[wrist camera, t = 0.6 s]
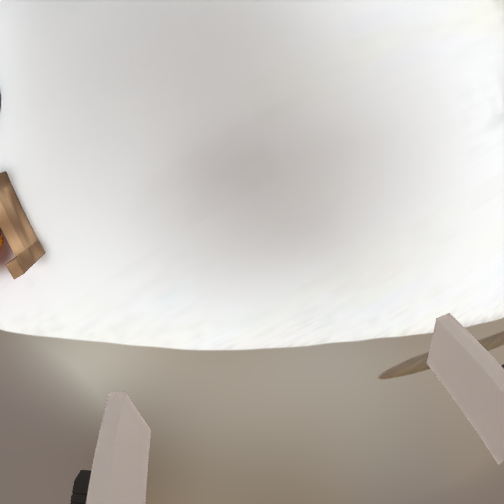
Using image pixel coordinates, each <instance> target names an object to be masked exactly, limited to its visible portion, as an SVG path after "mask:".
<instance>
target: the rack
mask: <svg viewBox="0 0 504 504" xmlns="http://www.w3.org/2000/svg"><path fill="white" fill-rule="evenodd" d="M0 228H1V230H2V232H3V234H4V236H5V237H6V239H7V241H8V243H9V245H10V247H11V249H12V251H13V253H14V254H15V256H16V257H14V258H13V259H12V260H11V261H10V262H9V263H8V264H6V266H7V268H8V270H9V272H10V273H11V275H12V277H13V278H14V279H16V278H18V277H19V276H21V275H23V274H24V273H25V272H26V271H27V270H28V269H29V268H30V267H31V266H32V265H33V264H34V263H35V262H36V261H37V260H38V259H39V258H40V257H42V256H43V255H44V254H45V252H44V250H43V248H42V246H41V244H40V242H39V241H38V239H37V237H36V235H35V233H34V231H33V229H32V227H31V225H30V223H29V221H28V219H27V217H26V215H25V213H24V211H23V209H22V207H21V205H20V203H19V201H18V198H17V196H16V194H15V192H14V190H13V187H12V185H11V183H10V180H9V178H8V176H7V173H6V172H3V173H0Z"/></svg>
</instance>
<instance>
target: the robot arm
mask: <svg viewBox="0 0 504 504" xmlns="http://www.w3.org/2000/svg"><path fill="white" fill-rule="evenodd" d="M427 365H428V366H429V367H430V368H431V370H432V371H433V372H434V374H435V375H436V376H437V378H438V379H439V380H440V382H441V383H442V384H443V385H444V387H445V388H446V390H447V391H448V392H449V394H450V395H451V396H452V398H453V399H454V401H455V402H456V403H457V405H458V406H459V407H460V409H461V410H462V411H463V413H464V414H465V416H466V417H467V419H468V420H469V422H470V423H471V424H472V426H473V427H474V429H475V430H476V432H477V433H478V435H479V436H480V438H481V439H482V441H483V442H484V444H485V445H486V446H487V448H488V449H489V451H490V453H491V454H492V456H493V457H494V459H495V460H496V462H497V463H498V465H499V464H500V463H502V462H503V461H504V365H502V366H500V364H499V363H498V362H497V361H496V360H495V359H494V358H493V357H492V356H491V355H490V354H489V353H488V351H487V350H486V349H485V348H484V347H483V346H482V345H481V344H480V343H479V342H478V341H477V340H476V339H475V338H474V337H473V336H472V335H471V334H470V333H469V332H468V331H467V330H466V329H465V328H464V327H463V326H462V325H461V324H460V323H459V322H458V321H457V320H456V319H455V318H454V317H453V316H452V315H451V314H450V313H448V314H446V315H444V316H441V317H439V318H436V323H435V328H434V333H433V338H432V342H431V347H430V351H429V355H428V359H427ZM150 435H151V429H150V428H149V427H148V425H147V424H146V422H145V421H144V419H143V418H142V417H141V415H140V414H139V412H138V411H137V409H136V408H135V406H134V405H133V403H132V402H131V400H130V398H129V397H128V395H127V394H126V393H125V392H119V393H109V396H108V400H107V404H106V408H105V412H104V416H103V420H102V424H101V428H100V433H99V437H98V442H97V447H96V451H95V456H94V461H93V466H92V471H88V470H81V471H80V473H79V474H78V476H77V477H76V479H75V481H74V486H73V491H72V492H73V494H72V496H71V504H145V499H146V482H147V469H148V456H149V445H150Z"/></svg>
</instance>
